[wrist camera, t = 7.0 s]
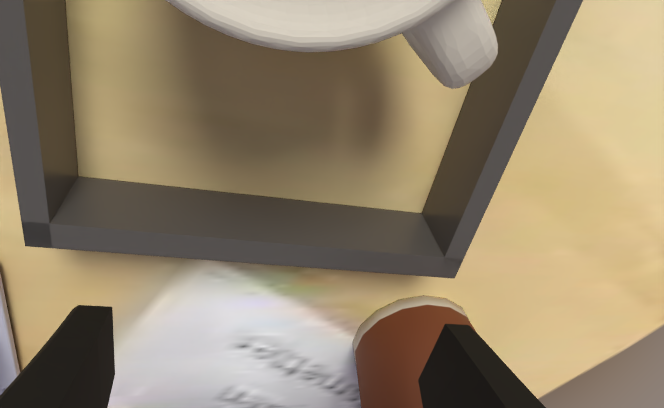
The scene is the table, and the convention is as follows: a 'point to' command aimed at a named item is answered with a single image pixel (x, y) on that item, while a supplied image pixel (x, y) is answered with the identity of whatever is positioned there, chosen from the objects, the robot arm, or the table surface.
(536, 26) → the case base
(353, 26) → the cup
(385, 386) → the coffee cup
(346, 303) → the table surface
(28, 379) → the robot arm
